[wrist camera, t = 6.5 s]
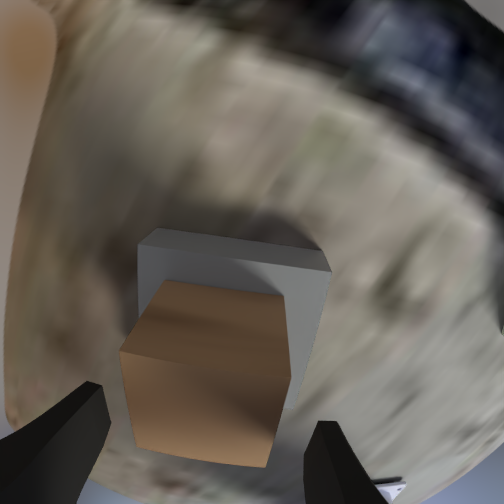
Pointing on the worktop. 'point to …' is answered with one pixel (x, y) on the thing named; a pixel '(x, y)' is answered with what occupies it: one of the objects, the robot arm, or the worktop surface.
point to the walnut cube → (208, 373)
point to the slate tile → (243, 280)
